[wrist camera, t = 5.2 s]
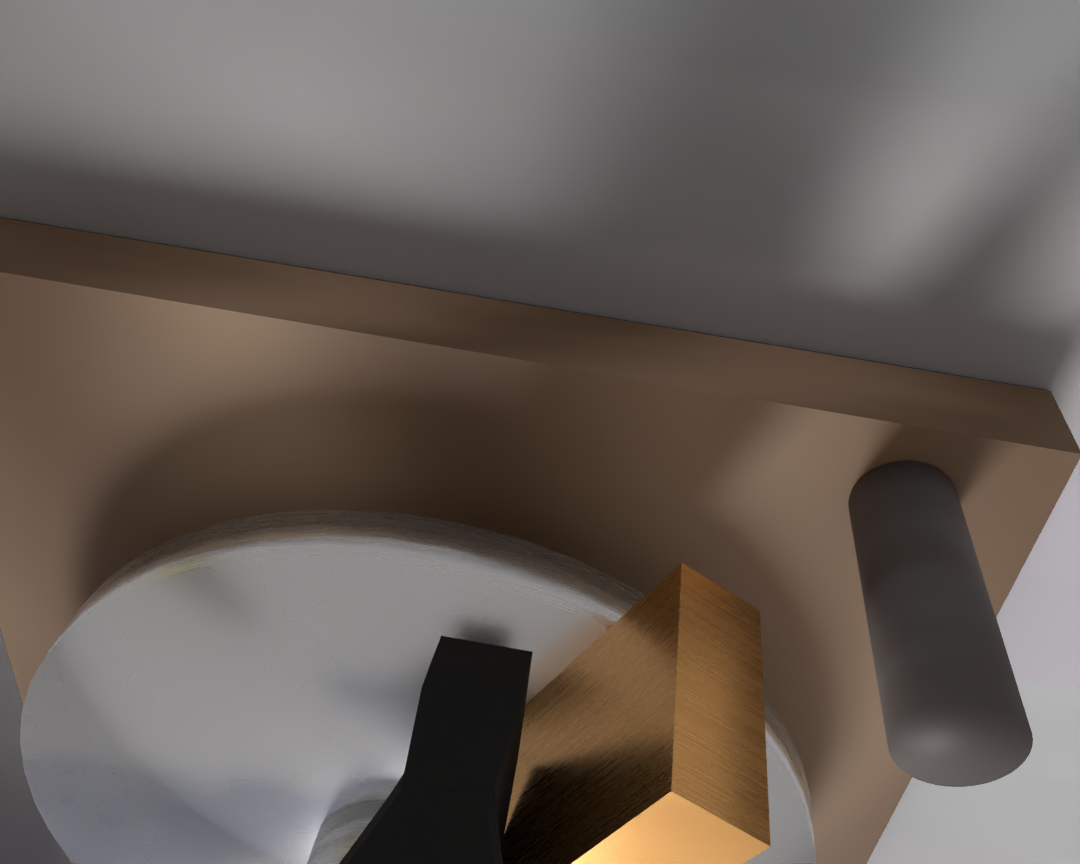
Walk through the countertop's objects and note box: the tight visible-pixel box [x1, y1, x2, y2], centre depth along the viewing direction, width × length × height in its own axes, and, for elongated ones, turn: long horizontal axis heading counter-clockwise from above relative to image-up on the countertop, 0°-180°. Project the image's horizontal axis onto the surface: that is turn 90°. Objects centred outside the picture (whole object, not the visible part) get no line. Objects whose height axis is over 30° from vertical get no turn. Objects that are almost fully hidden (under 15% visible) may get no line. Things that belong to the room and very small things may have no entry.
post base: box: [0, 218, 1080, 864], centre depth 17 cm, size 16×17×6 cm
